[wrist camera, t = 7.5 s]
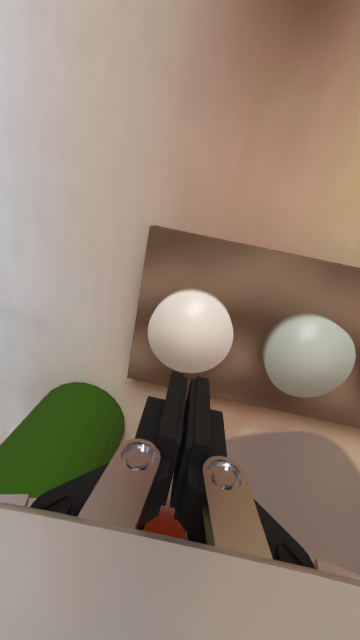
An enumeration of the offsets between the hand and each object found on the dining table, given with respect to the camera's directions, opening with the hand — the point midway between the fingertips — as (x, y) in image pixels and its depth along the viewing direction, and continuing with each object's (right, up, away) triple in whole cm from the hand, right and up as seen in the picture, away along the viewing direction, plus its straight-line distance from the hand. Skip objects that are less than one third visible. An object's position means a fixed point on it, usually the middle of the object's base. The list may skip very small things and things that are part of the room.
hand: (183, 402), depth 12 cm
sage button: (+9, +1, +9) cm, 13 cm away
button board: (+9, +2, +12) cm, 15 cm away
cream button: (+1, +3, +9) cm, 9 cm away
